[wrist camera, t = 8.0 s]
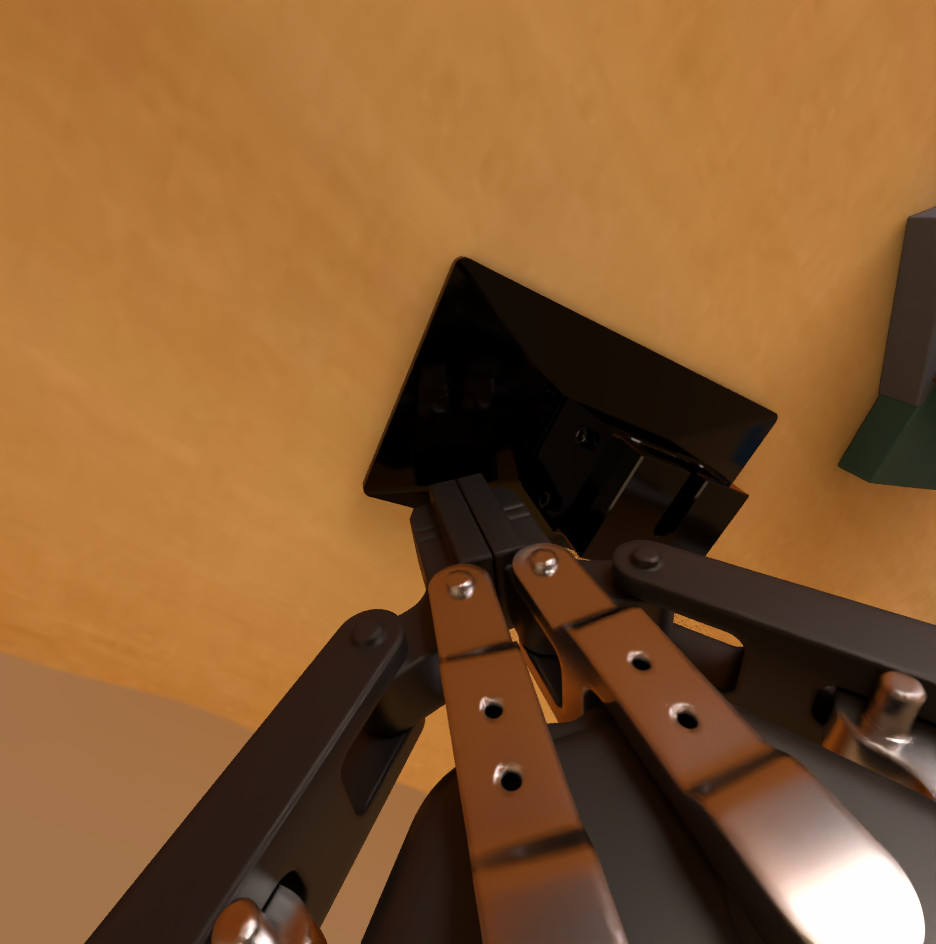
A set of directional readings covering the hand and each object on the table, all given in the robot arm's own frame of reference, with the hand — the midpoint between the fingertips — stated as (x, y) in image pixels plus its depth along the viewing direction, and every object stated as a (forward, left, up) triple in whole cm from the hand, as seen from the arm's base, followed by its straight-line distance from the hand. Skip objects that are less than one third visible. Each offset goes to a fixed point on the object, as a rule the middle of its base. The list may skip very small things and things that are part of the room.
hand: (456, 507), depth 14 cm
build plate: (0, +5, -2) cm, 5 cm away
